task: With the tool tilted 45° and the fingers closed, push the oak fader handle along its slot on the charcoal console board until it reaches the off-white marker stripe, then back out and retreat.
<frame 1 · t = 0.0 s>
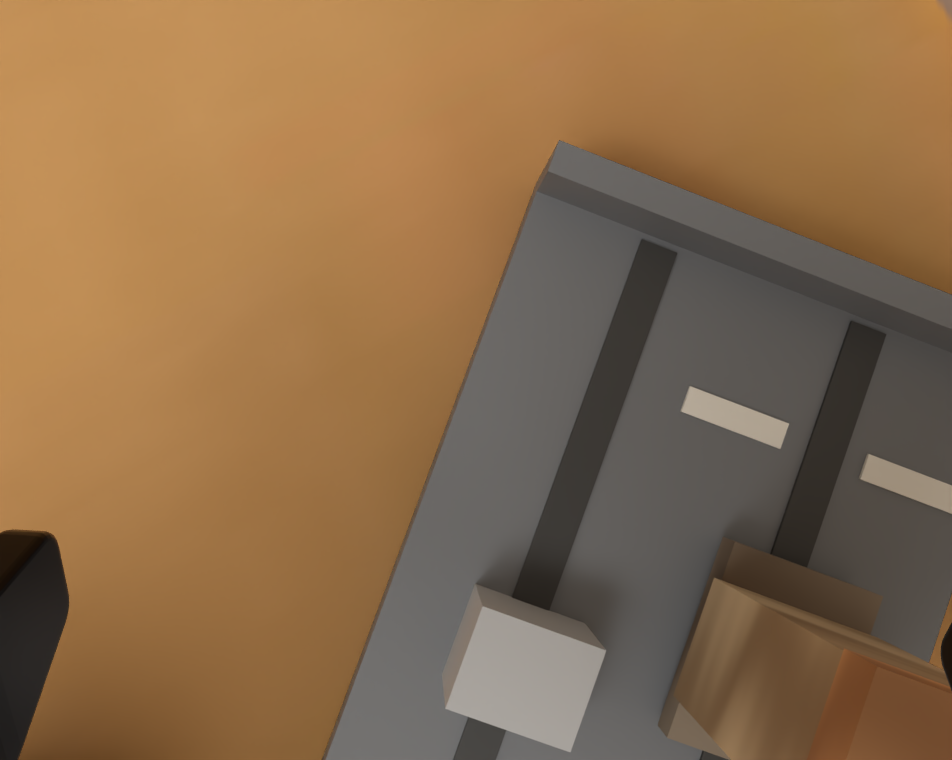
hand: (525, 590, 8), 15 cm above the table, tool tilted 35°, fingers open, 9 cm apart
console: (739, 597, 23), on the table
fader: (844, 714, 17), point 6 cm above the table, slide at 0.0 cm
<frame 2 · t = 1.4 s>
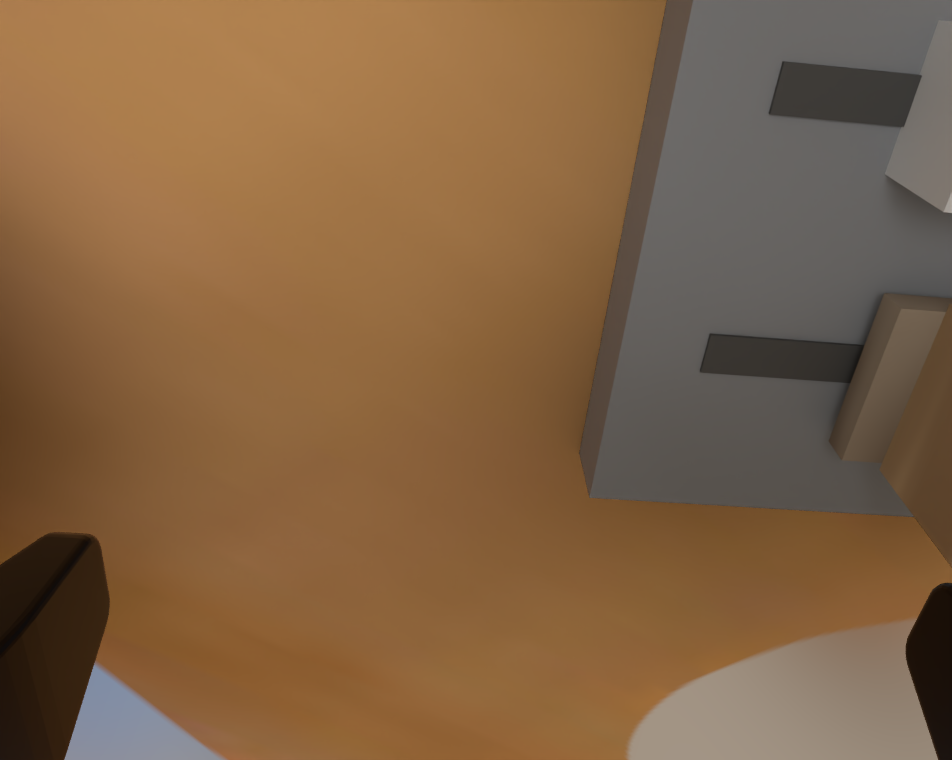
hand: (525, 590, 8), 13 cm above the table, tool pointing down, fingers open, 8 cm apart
console: (945, 334, 22), on the table
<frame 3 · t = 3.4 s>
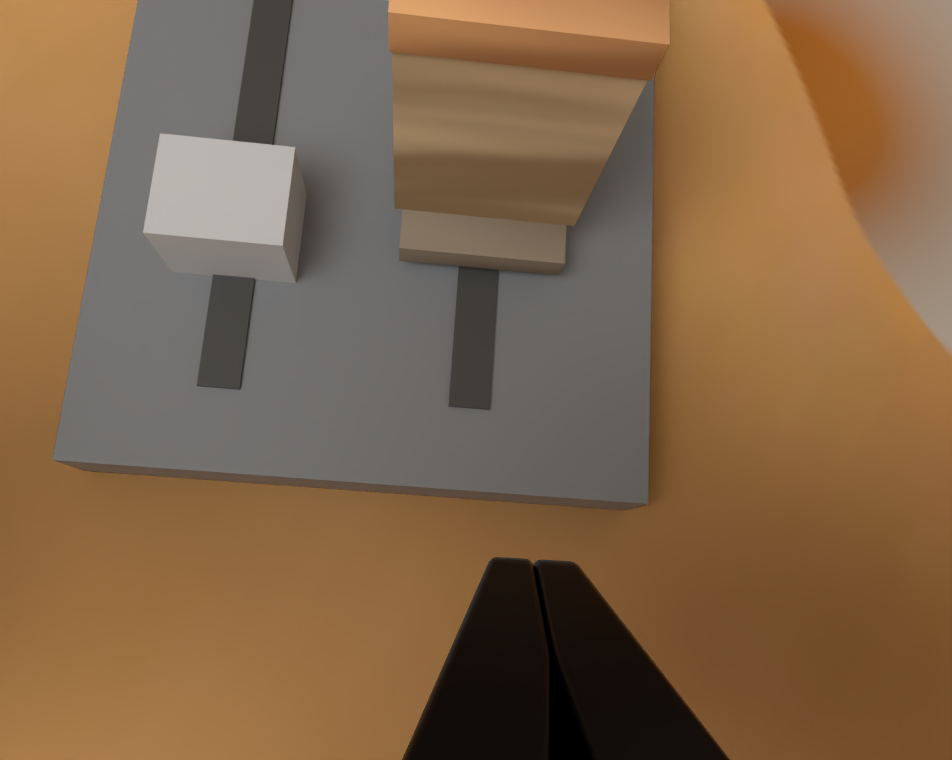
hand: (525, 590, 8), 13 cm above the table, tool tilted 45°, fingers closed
console: (479, 183, 24), on the table
fader: (504, 86, 17), point 6 cm above the table, slide at 0.0 cm
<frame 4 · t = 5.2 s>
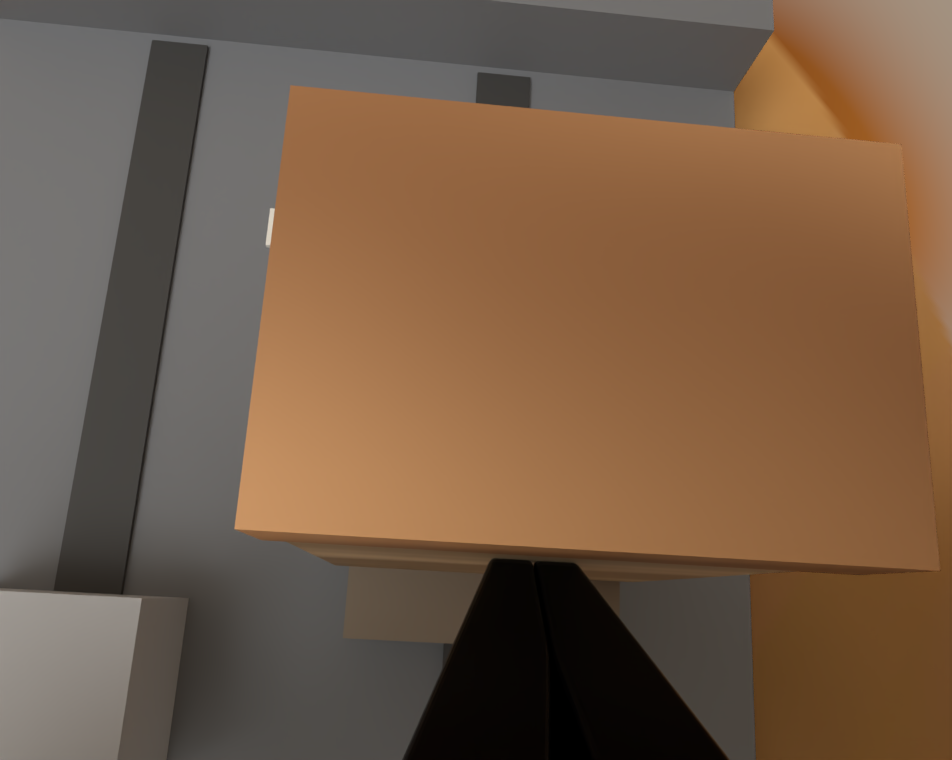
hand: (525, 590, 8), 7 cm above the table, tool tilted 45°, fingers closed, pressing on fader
console: (472, 512, 16), on the table
fader: (519, 431, 9), point 6 cm above the table, slide at 1.3 cm, touching gripper
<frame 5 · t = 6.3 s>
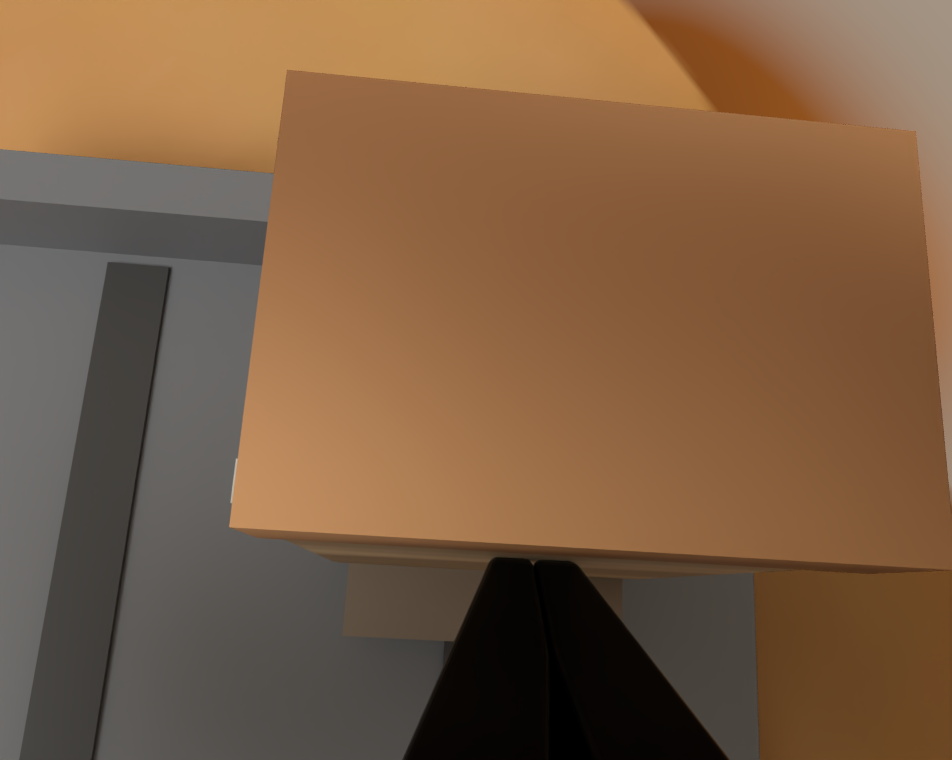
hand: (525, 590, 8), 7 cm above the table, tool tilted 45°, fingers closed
fader: (522, 427, 9), point 6 cm above the table, slide at 5.8 cm
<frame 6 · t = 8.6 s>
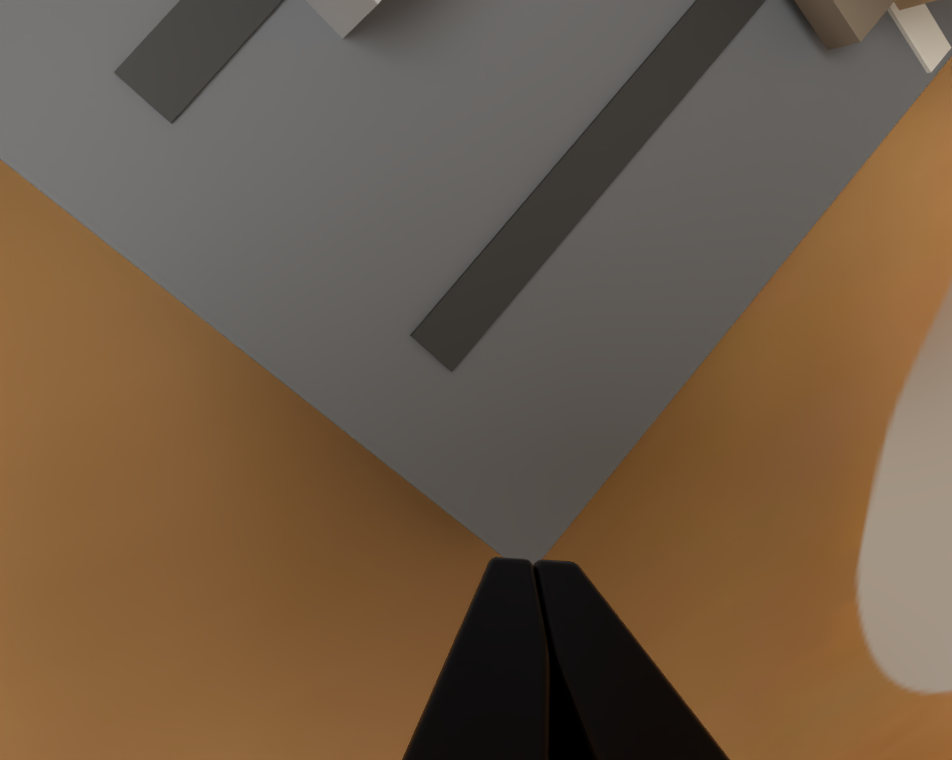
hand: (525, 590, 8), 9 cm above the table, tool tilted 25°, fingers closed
console: (622, 77, 17), on the table
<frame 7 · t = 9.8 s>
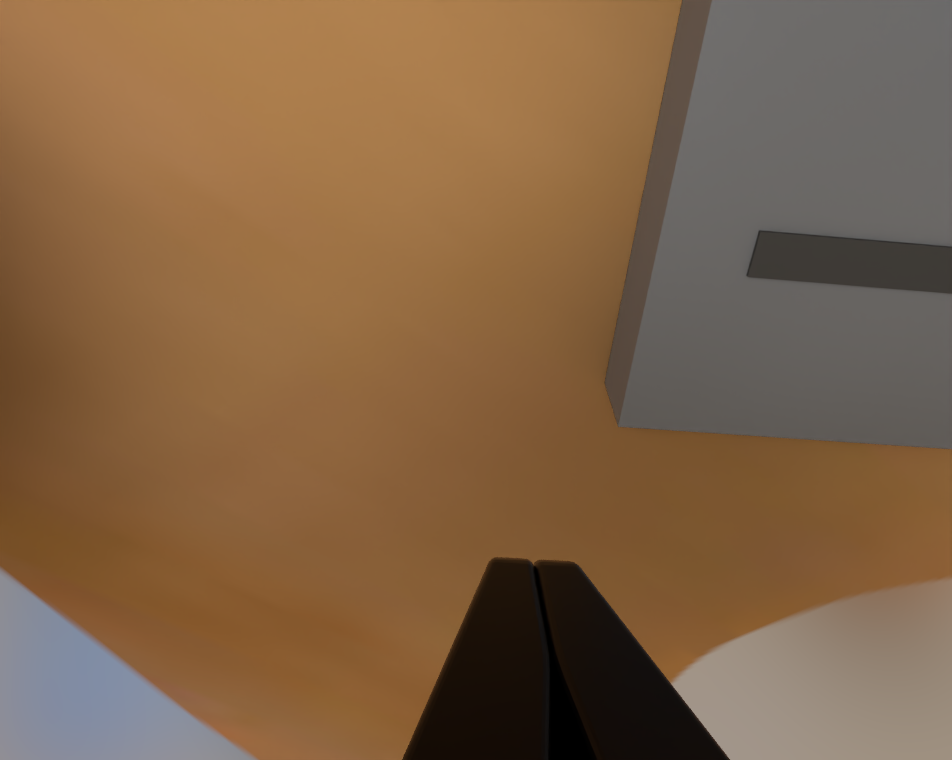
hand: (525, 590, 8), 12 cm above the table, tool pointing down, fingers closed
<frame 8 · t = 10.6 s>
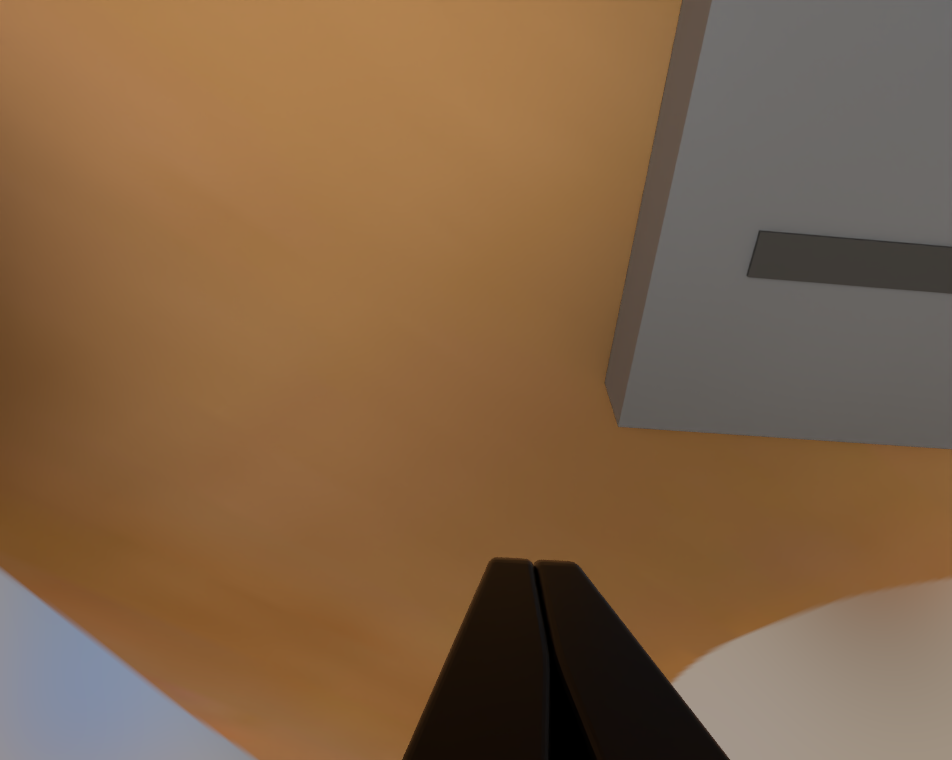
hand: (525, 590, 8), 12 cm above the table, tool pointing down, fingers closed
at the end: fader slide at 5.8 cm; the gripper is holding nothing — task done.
